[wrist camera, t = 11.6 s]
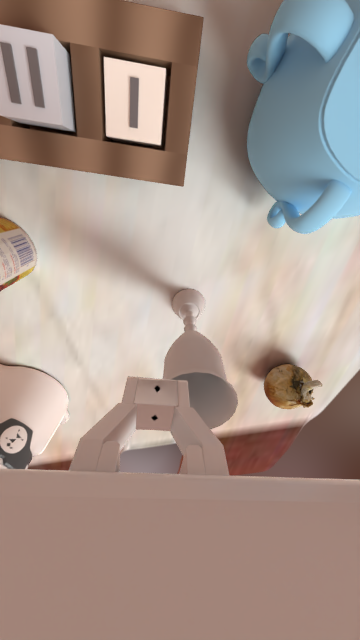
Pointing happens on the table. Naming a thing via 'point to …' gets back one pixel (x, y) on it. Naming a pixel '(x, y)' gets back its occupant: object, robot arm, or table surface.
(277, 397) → the onion
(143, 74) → the tile one
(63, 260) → the table surface
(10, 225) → the canned food
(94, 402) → the table surface
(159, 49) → the button board
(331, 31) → the decorative pot
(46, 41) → the tile two
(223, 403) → the chalice
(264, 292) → the table surface
